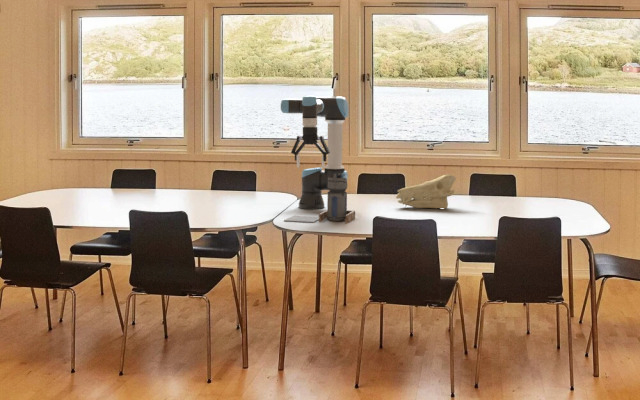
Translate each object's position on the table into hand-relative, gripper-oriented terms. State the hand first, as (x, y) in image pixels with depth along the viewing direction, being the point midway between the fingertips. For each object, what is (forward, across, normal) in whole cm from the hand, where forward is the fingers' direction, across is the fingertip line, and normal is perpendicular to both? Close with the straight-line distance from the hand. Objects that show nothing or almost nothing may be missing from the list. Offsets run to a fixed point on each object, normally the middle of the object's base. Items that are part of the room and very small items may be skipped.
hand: (310, 167), depth 388 cm
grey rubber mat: (+28, -4, 0) cm, 28 cm away
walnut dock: (+28, +12, +6) cm, 31 cm away
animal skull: (+32, +48, +70) cm, 91 cm away
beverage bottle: (+28, +12, +6) cm, 31 cm away
